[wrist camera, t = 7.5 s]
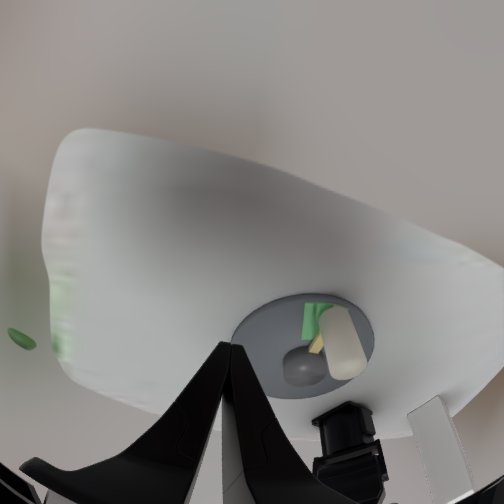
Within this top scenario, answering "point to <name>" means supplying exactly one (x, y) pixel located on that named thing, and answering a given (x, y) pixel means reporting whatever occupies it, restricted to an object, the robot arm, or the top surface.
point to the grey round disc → (293, 340)
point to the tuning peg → (327, 352)
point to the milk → (441, 453)
